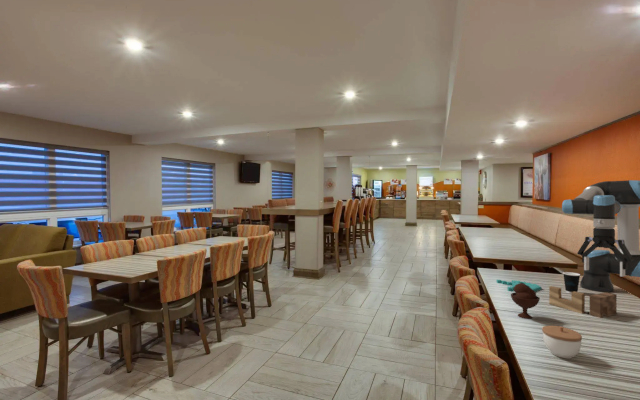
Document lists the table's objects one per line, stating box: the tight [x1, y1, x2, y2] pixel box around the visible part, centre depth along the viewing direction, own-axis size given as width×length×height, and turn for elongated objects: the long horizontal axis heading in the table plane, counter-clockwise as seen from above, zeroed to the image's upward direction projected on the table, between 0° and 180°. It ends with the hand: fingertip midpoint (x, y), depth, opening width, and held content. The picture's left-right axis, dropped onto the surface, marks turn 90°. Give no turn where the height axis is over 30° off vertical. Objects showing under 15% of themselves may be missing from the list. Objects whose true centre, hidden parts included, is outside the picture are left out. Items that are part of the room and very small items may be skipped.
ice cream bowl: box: [510, 284, 540, 320], centre depth 140 cm, size 11×11×15 cm
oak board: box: [548, 285, 586, 314], centre depth 151 cm, size 2×14×9 cm, turn 24°
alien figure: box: [496, 279, 542, 293], centre depth 188 cm, size 20×2×20 cm
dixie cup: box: [562, 271, 581, 294], centre depth 177 cm, size 8×8×11 cm
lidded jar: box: [541, 325, 583, 360], centre depth 106 cm, size 11×11×9 cm
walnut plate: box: [589, 292, 618, 319], centre depth 143 cm, size 14×4×9 cm, turn 114°
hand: (603, 273), depth 144 cm, fingers open, 13 cm apart
